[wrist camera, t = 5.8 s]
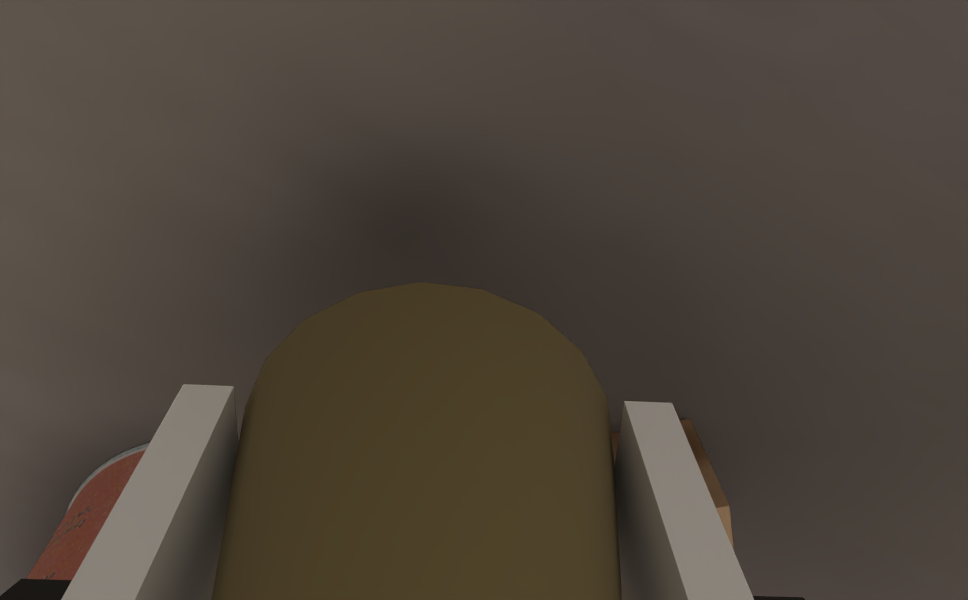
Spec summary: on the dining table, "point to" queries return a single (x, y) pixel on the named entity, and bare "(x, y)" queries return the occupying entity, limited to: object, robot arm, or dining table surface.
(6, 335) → the dining table surface
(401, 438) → the cork
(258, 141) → the dining table surface
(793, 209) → the dining table surface
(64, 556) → the canned food
